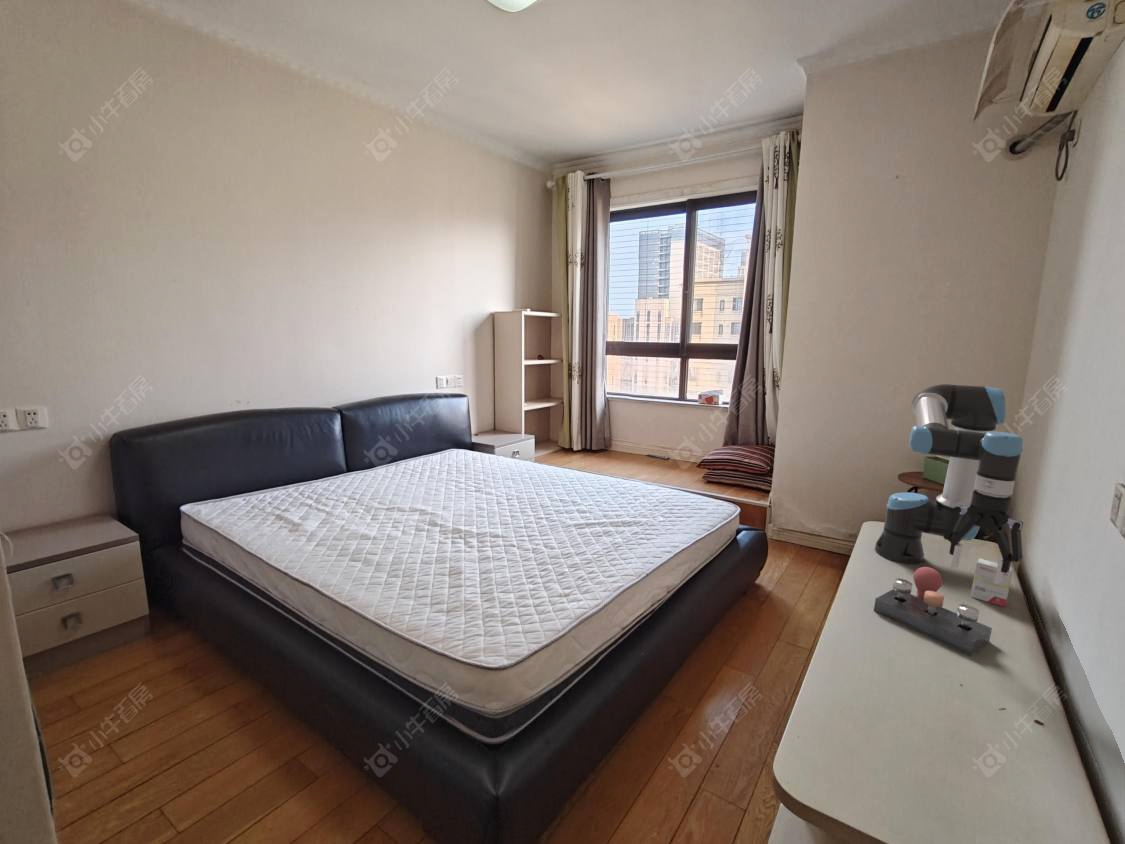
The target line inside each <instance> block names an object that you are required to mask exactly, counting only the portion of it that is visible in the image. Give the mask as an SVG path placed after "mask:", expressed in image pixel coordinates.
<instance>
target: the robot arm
mask: <svg viewBox="0 0 1125 844" xmlns="http://www.w3.org/2000/svg"><path fill="white" fill-rule="evenodd" d="M1006 404H1007V403H1006V395H1005V392H1004V391H1003V390H1002V389H1001V388H998V387H990V386H986V385H985V386H981V385H979V386H978V385H962V384H949V383H945V384H944V383H943V384H937V385H936V384H935V385H933V386H928V387H926V388H924V389H922V390H921V391H920V392H918V393H917V394H916V395H915V396H914V398H913V399H912V402H911V411H912V412H913V414H914V416H915V420H916V425H914V426H913V427H912V428H911V431H910V434H909V439H908V441H909V442H908V443H909V444H908V448H909V449H908V450H909V451H911V452H913V453H921V454H923V455H932V456H933V455H934V456H939V457H940V456H942V457H949V461H948V465H947V471H946V475H945V481H944V486H943V490H942V493H941V494H939V495H937V496H936V498H935V501H932V500H929V498H928V496H926V495H925V494H923V493H922V494H920V493H918V492H917V493H916V492H909V491H908V492H896V493H895V492H894V493H893V494H892V495H890V496H889V498H888V501H887V504H886V514H885V520H884V524H883V530H882V533H881V534H880V535H879V537H878V538H877V540H876V543H875V546H874V551H875V552H876V553H877V554H878V555H880V556H882V557H883V558H885V559H889V560H891V561H895V562H898V563H903V564H921V563H923V562H924V558H925V552H924V551H925V550H924V547H923V543H922V535H923V534H930V535H934V536H937V537H938V536H939V537H943V539H944V540H947V541H948V542H950V547H949V555H951V556H952V560H951V564H950V565H951V566H950V568H951V569H953V570H954V569H956V568H958V567H959V565H960V560H961V554H962V550H963V545H964V544H963V543H960V542H961V541H966V542H969V541H971V540H973V539H975V537H976V536H977V535H978V532H979V530H980V528H984V529H987V530H990V531H991V532H992V535H994V537H995V540H996V543H997V545H998V549H999V551H1000V555H1001V558H999V559H998V562H997V563H998V566H997V570H996V575H995V580H994V584H999V583H1001V582H1002V577H1003V573H1007V572H1008V571H1009V570H1010V567H1011V566H1012V565H1011V564H1012V562H1014V563H1015V562H1016V563H1017V562H1019V561H1021V560H1023V548H1022V547H1023V546H1022V545H1023V543H1022V529H1023V526H1024V522H1023V521H1021V520H1018V521H1017V520H1015V519H1012V518H1010V516H1009V510H1010V506H1011V501H1012V498H1011V496H1012V495H1013V494H1014V492H1013V491H1014V487H1015V483H1016V482H1015V481H1016V478H1017V477H1016V476H1017V472H1018V468H1019V463H1020V459H1021V456H1022V452H1023V451H1024V450H1023V444H1024V438H1023V437H1022V436H1020V435H1019V434H1015V433H1011V432H1006V431H996V428H997V426H1000V425H1003V424H1004V423H1005V420H1006V412H1007V408H1006V407H1007V405H1006ZM948 420H950V421H951V423H950V425H951V427H953V429H952V428H951V429H950V428H949V425H948ZM1005 524H1008V527H1009V529H1011V530H1010V538H1011V541H1010V542H1011V549H1010V546H1009V543H1008V540H1007V537H1006V535H1005V530H1004V527H1003V526H1004V525H1005Z"/></svg>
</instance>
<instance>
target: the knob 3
mask: <svg viewBox="0 0 1125 844" xmlns="http://www.w3.org/2000/svg"><path fill="white" fill-rule="evenodd" d="M956 613H957V616H958V617H959V618H961V619H962V624H961V628H962V629H965V630H967V631H968V629H969V624H970V622H978V620H979V615H980V610H979V609H978V608H976V607H974V606H972V605H968V604H964V603H960V604H958V606H957V611H956Z"/></svg>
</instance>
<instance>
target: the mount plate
mask: <svg viewBox="0 0 1125 844" xmlns="http://www.w3.org/2000/svg"><path fill="white" fill-rule="evenodd" d="M897 596H898V592H897V591H895V590H894V589H893V588H892V589H891V590H889V591H887V592H885V593H883V594H882V595H879V596H877V597H876V598H875V599H874V606H873V612H876V613H878V614H880V615H882V616H884V617H887V618H888V619H890V620H893V621H895V622H897V623H899V624H901V625H904V626H905V627H908V628H910V629H912V630H913V631H917V632H918V633H920V634H922V635H925V636H927V637H929V638H931V639H933V640H935V641H938V642H940V643H941V644H943V645H946V646H948V647H950V648H951V649H952V648H953V649H954V650H956V651H959V652H961V653H963V654H965V655H967V656H969V657H972V656H973V655H974V654H975V653H977V652H978V651H979V650H980V649H982V648H983V647H984V646H985V645H987V644H988V643H989V642H990V639H991V635H992V629H993V627H990V626H988V625H985V624H983V623H981V622H978V621H977V622H970V624H969V629H968V631H967V630H965V629H962V628H961V624H962V619H961V618H959V617H958V616H957V612H955V611H952V610H949V609H947V608H944V607H943V606H942V607H936V609H935V614H934V616H933V615H930V614H928V613H927V612H928V607H929V605H928V604H926V603H925V602H924V601H923V599H921V598H919V597H916V595H913V594H912V593H910V594H905V595H904V600H903V602H900V601H898V600H897Z"/></svg>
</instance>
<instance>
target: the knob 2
mask: <svg viewBox="0 0 1125 844" xmlns="http://www.w3.org/2000/svg"><path fill="white" fill-rule="evenodd" d="M944 600H945V596H944V595H943V594H942V593H939V592H938V591H937V592H934V591H925V595H924V600H923V601H924V602H925V603H926V604H928V605H929V607H928V612H927V613H928V614H930V615H933V616H934V614H935V609H936V607H942V608H943V605H944Z"/></svg>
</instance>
